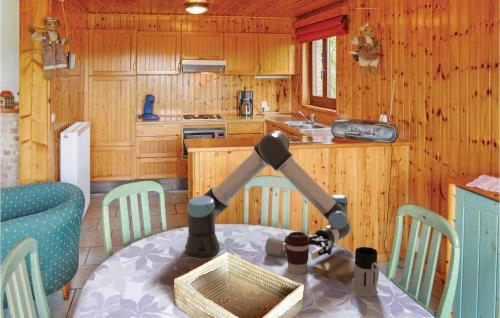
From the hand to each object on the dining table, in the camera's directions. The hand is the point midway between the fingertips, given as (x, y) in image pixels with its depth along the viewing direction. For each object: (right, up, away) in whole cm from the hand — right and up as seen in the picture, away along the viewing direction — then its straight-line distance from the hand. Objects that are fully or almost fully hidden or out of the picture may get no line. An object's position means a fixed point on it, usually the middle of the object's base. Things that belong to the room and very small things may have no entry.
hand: (297, 251), depth 170 cm
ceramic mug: (-7, -5, +19) cm, 21 cm away
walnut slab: (+16, -8, 0) cm, 18 cm away
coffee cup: (0, -8, +2) cm, 9 cm away
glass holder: (+23, -12, -17) cm, 31 cm away
